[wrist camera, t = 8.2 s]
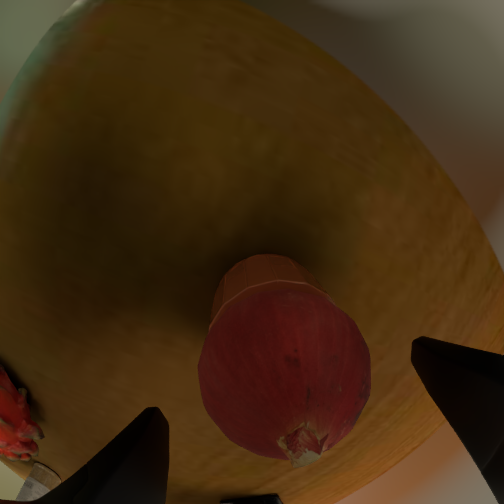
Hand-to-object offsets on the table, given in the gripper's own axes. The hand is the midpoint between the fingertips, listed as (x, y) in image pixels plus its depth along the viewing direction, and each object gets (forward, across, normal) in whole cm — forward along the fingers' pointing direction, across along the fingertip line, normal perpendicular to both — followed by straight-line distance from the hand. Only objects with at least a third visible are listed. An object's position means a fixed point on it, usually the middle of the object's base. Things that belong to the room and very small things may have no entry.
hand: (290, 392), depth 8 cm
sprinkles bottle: (+8, +35, +20) cm, 41 cm away
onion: (+5, 0, 0) cm, 5 cm away
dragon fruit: (+8, +26, +4) cm, 27 cm away
